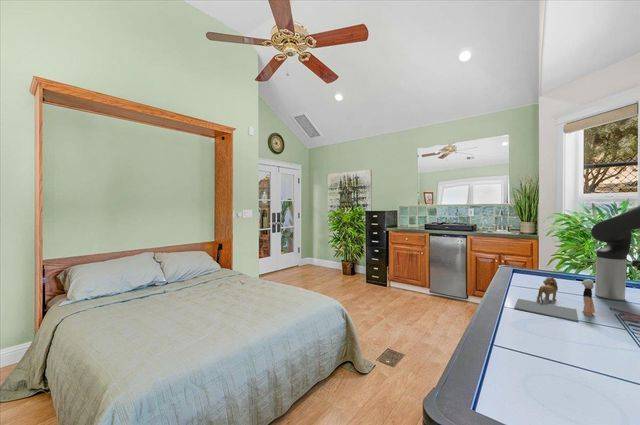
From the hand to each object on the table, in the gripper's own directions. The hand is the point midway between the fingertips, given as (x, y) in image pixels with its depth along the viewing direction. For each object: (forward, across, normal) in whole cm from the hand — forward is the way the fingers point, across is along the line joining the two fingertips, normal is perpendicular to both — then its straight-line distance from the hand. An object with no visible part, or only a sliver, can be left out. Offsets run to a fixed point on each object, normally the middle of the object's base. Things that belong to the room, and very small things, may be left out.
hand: (634, 264), depth 95 cm
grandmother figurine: (+11, 0, +20) cm, 23 cm away
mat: (+23, +6, +20) cm, 31 cm away
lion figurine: (+23, -9, +20) cm, 32 cm away
